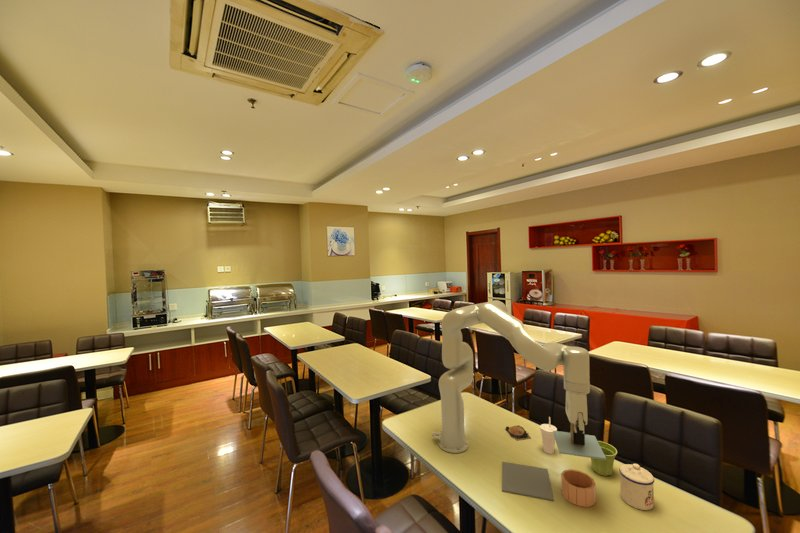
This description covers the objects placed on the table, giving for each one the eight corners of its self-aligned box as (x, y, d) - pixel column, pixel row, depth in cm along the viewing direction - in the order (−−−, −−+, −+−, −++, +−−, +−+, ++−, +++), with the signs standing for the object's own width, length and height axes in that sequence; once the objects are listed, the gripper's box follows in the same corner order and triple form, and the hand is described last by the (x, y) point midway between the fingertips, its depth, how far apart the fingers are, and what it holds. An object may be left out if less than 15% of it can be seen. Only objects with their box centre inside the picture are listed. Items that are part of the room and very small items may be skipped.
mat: (502, 491, 109) (502, 490, 109) (502, 462, 124) (502, 461, 124) (553, 501, 104) (553, 499, 104) (547, 470, 119) (547, 468, 119)
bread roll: (532, 440, 140) (532, 431, 140) (515, 442, 139) (515, 434, 139) (519, 427, 151) (519, 419, 151) (502, 429, 149) (502, 421, 149)
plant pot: (618, 483, 112) (617, 458, 111) (586, 474, 117) (586, 450, 116) (616, 467, 120) (616, 444, 119) (587, 460, 125) (587, 438, 124)
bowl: (564, 503, 103) (564, 486, 103) (559, 482, 112) (559, 467, 112) (598, 509, 100) (598, 492, 100) (590, 488, 109) (590, 472, 109)
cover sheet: (559, 453, 102) (558, 432, 102) (553, 432, 114) (552, 413, 114) (606, 460, 98) (605, 438, 98) (594, 437, 110) (594, 418, 110)
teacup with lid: (652, 516, 97) (652, 478, 97) (617, 501, 103) (616, 465, 103) (657, 494, 106) (656, 459, 106) (623, 482, 112) (623, 449, 112)
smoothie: (559, 456, 127) (558, 421, 127) (542, 455, 128) (541, 420, 128) (555, 447, 133) (554, 414, 133) (538, 445, 135) (538, 412, 135)
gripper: (559, 375, 115) (560, 426, 115) (568, 394, 99) (569, 453, 99) (583, 377, 112) (584, 429, 113) (596, 397, 96) (597, 457, 97)
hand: (577, 439), depth 106 cm, fingers closed on cover sheet, 4 cm apart
